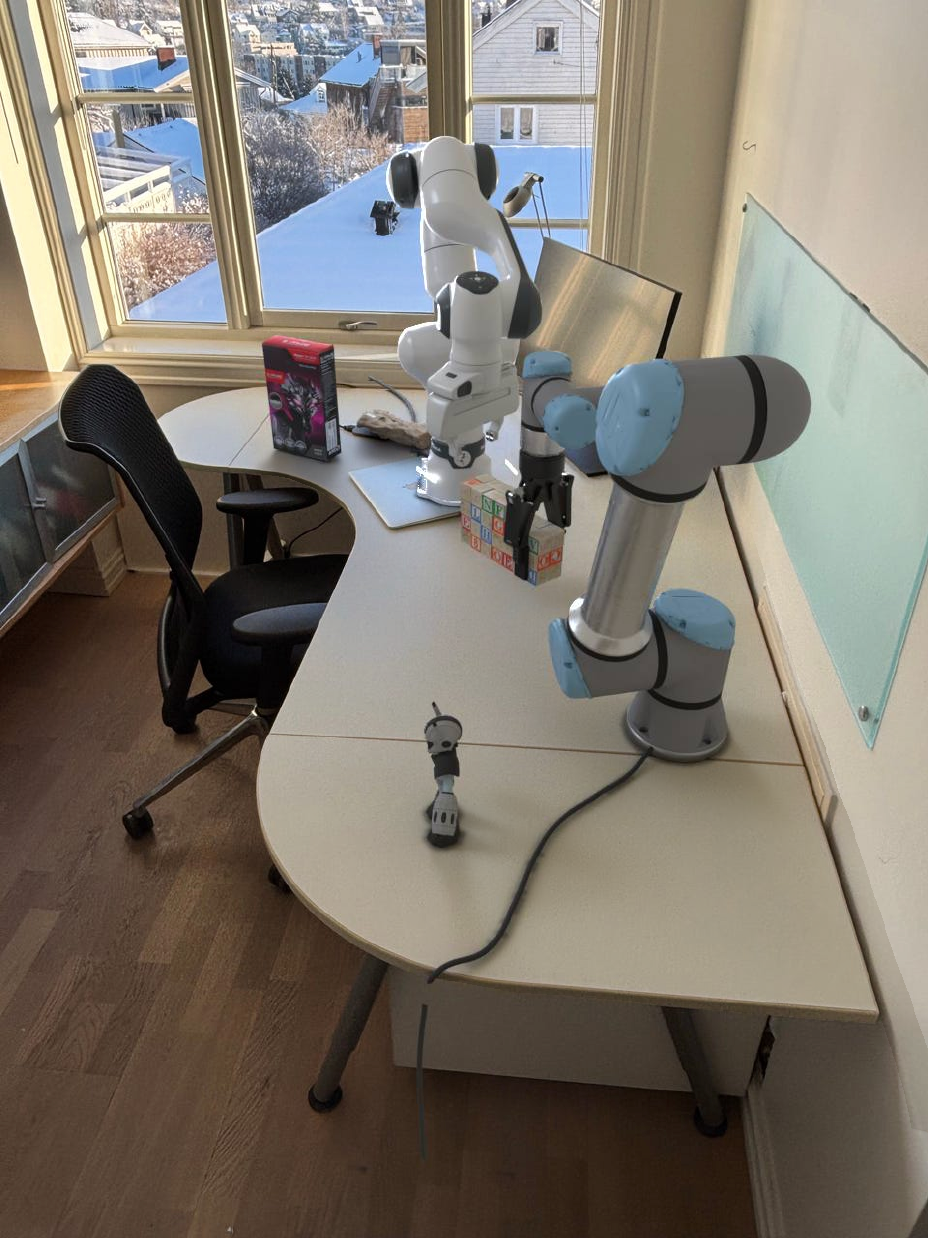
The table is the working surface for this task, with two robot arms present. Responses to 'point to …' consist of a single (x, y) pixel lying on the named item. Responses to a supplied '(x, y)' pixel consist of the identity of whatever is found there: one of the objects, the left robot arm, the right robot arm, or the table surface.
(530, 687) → the table surface
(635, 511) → the right robot arm
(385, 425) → the stone
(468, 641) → the table surface
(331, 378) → the graphics card box
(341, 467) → the table surface
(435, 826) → the robot
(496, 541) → the stack of blocks
